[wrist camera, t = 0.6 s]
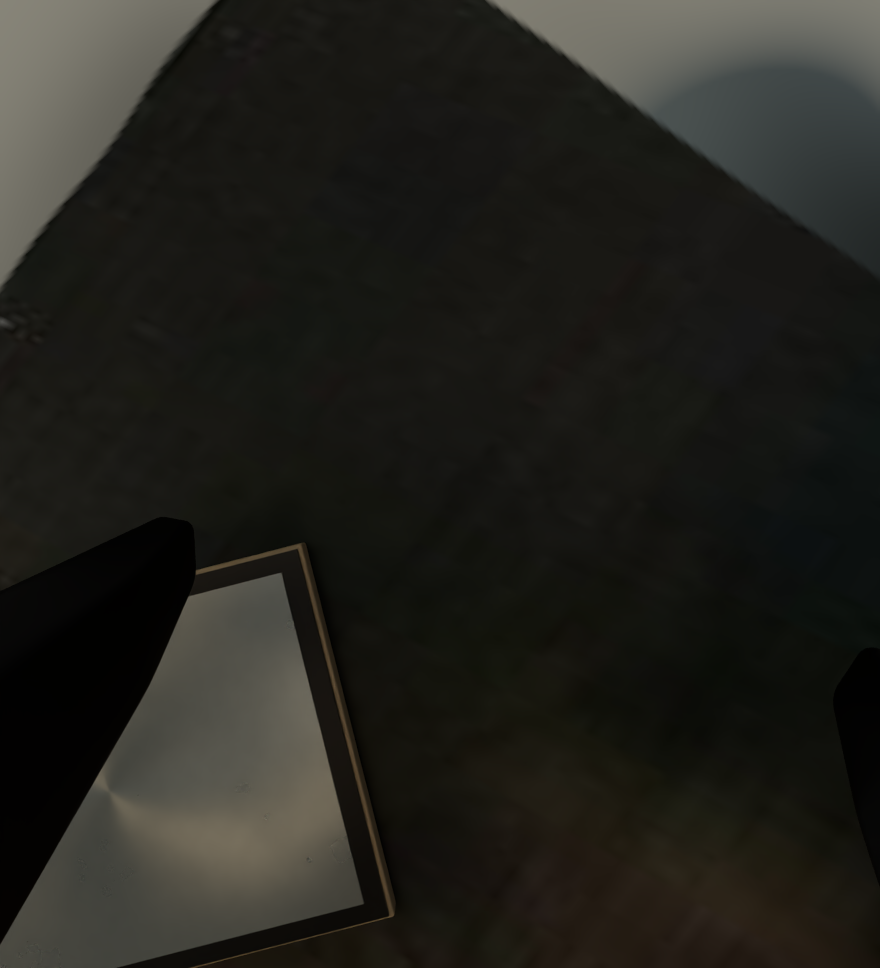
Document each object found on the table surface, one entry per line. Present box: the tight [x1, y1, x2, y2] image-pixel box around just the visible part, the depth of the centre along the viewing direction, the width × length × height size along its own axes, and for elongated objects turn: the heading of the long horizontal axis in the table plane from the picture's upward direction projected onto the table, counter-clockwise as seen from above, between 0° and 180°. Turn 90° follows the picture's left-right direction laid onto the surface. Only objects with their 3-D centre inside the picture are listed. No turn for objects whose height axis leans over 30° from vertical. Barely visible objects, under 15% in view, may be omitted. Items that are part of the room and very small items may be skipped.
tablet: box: [0, 543, 396, 968], centre depth 24 cm, size 13×16×1 cm
